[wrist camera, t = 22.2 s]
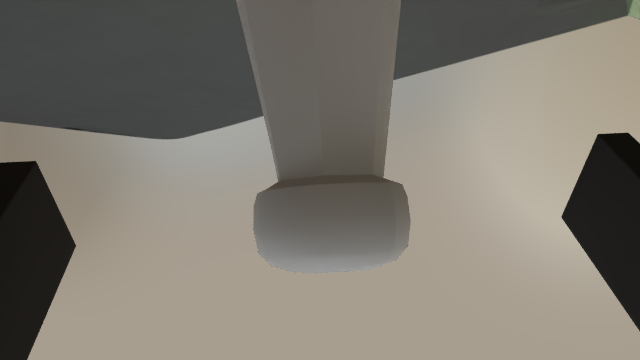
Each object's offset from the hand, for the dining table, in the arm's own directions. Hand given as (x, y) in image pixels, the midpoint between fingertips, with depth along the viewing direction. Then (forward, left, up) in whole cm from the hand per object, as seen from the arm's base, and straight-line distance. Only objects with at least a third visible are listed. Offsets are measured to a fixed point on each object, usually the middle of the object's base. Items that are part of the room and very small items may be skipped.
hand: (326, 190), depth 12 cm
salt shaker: (0, -2, -11) cm, 11 cm away
